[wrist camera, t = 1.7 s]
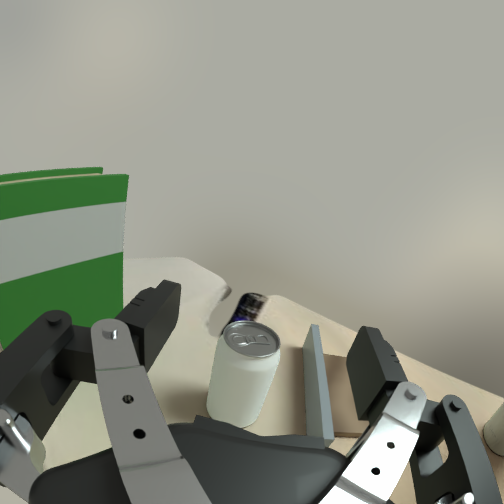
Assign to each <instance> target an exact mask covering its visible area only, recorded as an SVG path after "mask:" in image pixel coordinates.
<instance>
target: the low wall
mask: <svg viewBox="0 0 504 504" xmlns="http://www.w3.org/2000/svg"><path fill="white" fill-rule="evenodd" d="M302 350H303V367H304V385H305V408H306V436H313V437H324V444H325V447H329V446H330V444H331V443H332V442H333V441H334V431H333V423H332V414H331V406H330V398H329V391H328V384H327V377H326V370H325V363H324V357H323V350H322V344H321V338H320V332H319V326H318V325H314V324H311V326H310V329H309V332H308V334H307V337H306V340H305V342H304V345H303V347H302Z"/></svg>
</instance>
